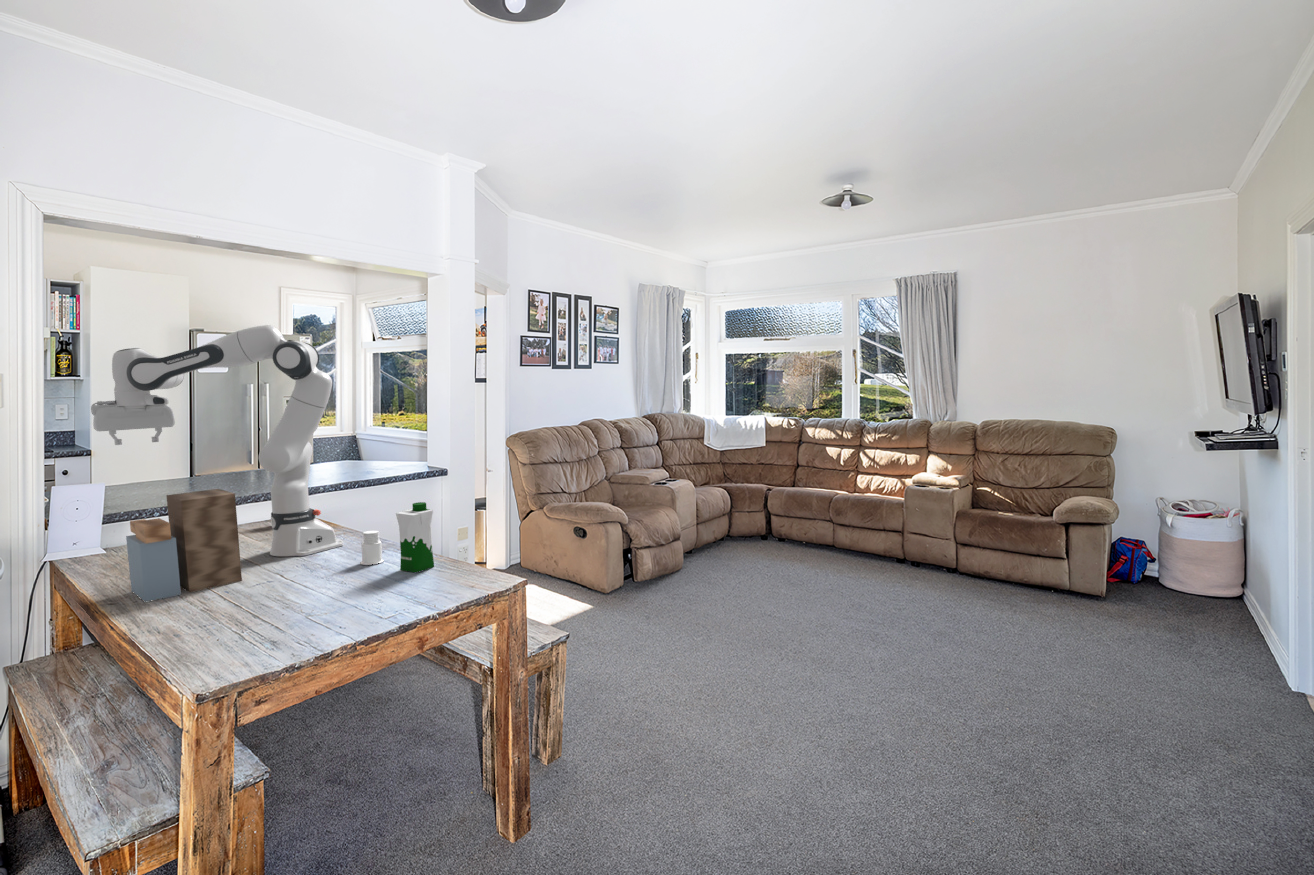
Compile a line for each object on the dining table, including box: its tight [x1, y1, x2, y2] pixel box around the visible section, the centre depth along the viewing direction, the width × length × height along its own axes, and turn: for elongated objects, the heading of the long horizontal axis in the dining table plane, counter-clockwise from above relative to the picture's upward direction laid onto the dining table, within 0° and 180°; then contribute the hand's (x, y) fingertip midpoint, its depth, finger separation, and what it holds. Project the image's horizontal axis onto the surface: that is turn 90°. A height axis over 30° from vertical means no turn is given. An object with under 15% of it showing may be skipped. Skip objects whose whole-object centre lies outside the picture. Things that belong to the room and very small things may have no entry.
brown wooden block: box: [129, 517, 171, 544], centre depth 181 cm, size 6×21×4 cm, turn 50°
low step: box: [125, 534, 182, 603], centre depth 181 cm, size 8×14×16 cm, turn 50°
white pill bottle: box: [359, 530, 385, 566], centre depth 208 cm, size 8×7×10 cm
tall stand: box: [166, 488, 243, 593], centre depth 190 cm, size 13×14×26 cm
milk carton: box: [395, 501, 435, 573], centre depth 200 cm, size 9×9×20 cm
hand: (137, 443), depth 208 cm, fingers open, 8 cm apart
